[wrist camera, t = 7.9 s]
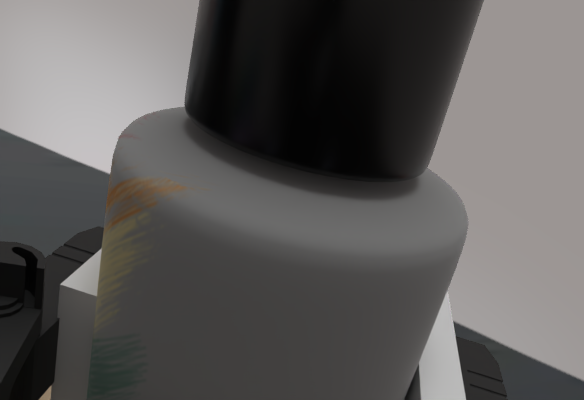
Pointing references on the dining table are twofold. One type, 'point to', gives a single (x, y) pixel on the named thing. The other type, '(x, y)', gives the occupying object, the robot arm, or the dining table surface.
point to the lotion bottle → (285, 208)
